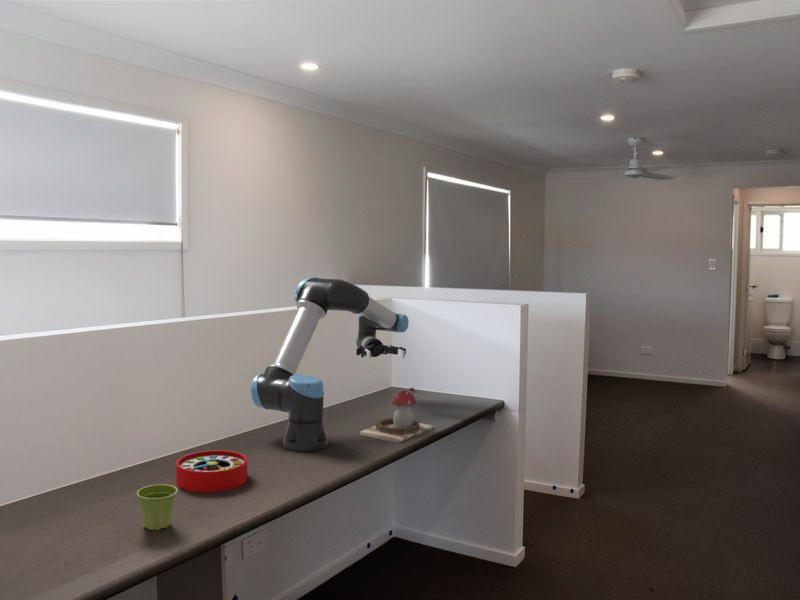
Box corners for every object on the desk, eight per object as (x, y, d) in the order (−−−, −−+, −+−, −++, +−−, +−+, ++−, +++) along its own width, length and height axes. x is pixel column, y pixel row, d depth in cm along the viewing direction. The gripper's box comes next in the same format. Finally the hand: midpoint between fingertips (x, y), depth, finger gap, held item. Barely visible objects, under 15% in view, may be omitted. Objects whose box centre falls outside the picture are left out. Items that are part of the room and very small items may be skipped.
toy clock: (260, 462, 203) (196, 477, 189) (260, 482, 203) (196, 498, 189) (225, 446, 217) (163, 459, 203) (225, 464, 218) (163, 478, 204)
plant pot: (182, 518, 176) (182, 484, 175) (171, 534, 166) (171, 498, 166) (144, 517, 175) (144, 483, 175) (131, 533, 166) (131, 497, 165)
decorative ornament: (415, 425, 264) (416, 386, 262) (416, 430, 257) (417, 390, 256) (390, 425, 263) (391, 386, 262) (391, 430, 257) (392, 389, 255)
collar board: (399, 442, 245) (399, 434, 244) (359, 434, 254) (360, 426, 253) (433, 428, 265) (433, 420, 265) (395, 420, 274) (395, 413, 274)
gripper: (401, 355, 294) (417, 364, 273) (342, 356, 286) (354, 364, 266) (401, 337, 293) (418, 344, 273) (343, 337, 286) (355, 345, 265)
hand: (386, 354), depth 269 cm, fingers open, 13 cm apart
